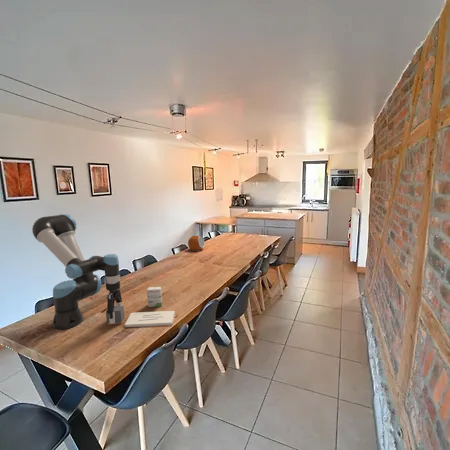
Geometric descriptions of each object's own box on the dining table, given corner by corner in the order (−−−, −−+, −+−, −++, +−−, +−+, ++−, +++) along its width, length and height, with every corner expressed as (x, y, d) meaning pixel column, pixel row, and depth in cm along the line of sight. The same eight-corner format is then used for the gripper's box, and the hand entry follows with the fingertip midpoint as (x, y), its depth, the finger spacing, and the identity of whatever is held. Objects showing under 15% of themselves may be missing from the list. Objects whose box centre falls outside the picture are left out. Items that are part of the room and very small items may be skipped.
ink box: (162, 303, 182) (161, 286, 180) (161, 306, 177) (160, 289, 176) (149, 303, 182) (148, 286, 180) (147, 307, 177) (146, 289, 175)
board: (124, 327, 153) (124, 324, 153) (131, 314, 167) (131, 312, 167) (172, 325, 155) (172, 322, 155) (174, 313, 169) (174, 310, 168)
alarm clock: (199, 252, 309) (199, 237, 306) (185, 251, 315) (185, 236, 312) (206, 248, 326) (206, 234, 324) (193, 247, 333) (193, 233, 330)
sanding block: (107, 324, 156) (105, 311, 155) (110, 319, 162) (109, 306, 161) (121, 323, 157) (120, 310, 156) (124, 318, 163) (123, 305, 161)
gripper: (112, 289, 144) (115, 328, 148) (125, 274, 167) (128, 308, 171) (98, 290, 144) (101, 329, 147) (112, 274, 167) (115, 308, 170)
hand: (115, 318), depth 159 cm, fingers open, 11 cm apart
